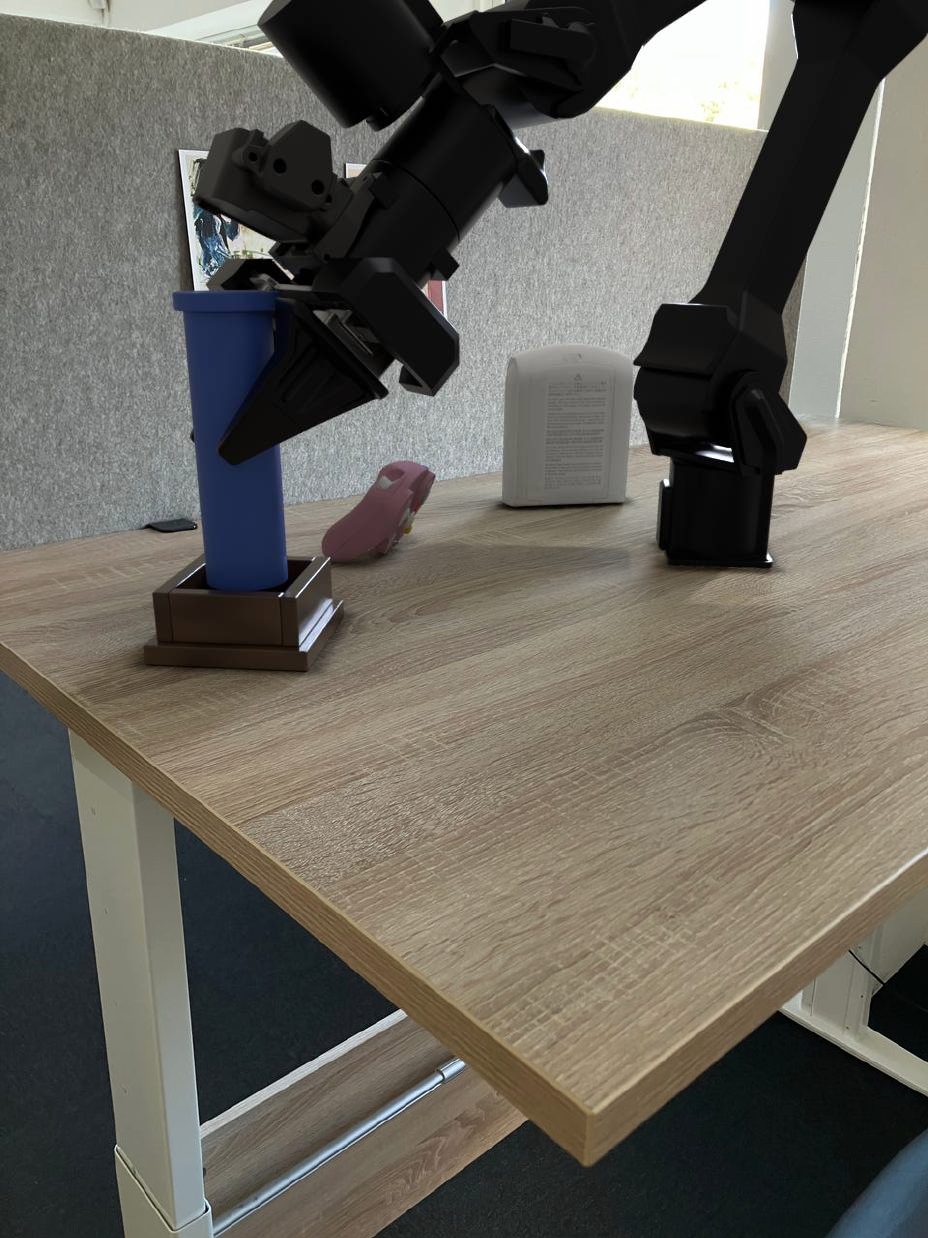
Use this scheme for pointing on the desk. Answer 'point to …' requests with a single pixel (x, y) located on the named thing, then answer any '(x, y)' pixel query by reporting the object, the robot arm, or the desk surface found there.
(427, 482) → the pink shoe
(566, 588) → the desk surface
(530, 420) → the photo printer
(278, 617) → the holder
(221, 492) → the blue capped tube
